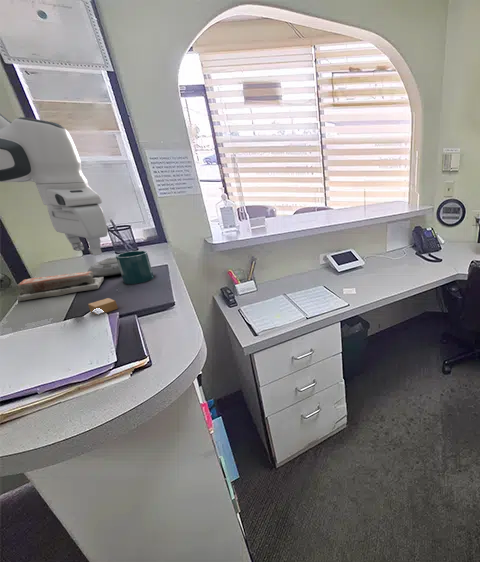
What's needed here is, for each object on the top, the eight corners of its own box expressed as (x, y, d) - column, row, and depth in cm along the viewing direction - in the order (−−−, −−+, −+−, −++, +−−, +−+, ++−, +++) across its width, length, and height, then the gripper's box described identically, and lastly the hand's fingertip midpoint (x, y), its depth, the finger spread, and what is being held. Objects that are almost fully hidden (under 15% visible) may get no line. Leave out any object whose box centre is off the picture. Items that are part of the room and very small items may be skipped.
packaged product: (10, 286, 86) (23, 276, 93) (17, 302, 87) (30, 291, 95) (94, 274, 94) (100, 266, 102) (99, 289, 96) (104, 280, 104)
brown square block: (97, 315, 79) (94, 307, 79) (90, 312, 81) (87, 303, 80) (118, 308, 83) (115, 300, 82) (110, 305, 85) (108, 297, 84)
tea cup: (131, 285, 99) (123, 258, 96) (119, 281, 103) (110, 255, 99) (158, 277, 106) (151, 252, 103) (145, 274, 109) (138, 249, 106)
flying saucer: (119, 279, 104) (114, 264, 102) (76, 279, 105) (70, 264, 103) (150, 265, 118) (146, 252, 116) (112, 265, 119) (107, 252, 117)
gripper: (32, 195, 75) (54, 250, 80) (68, 198, 66) (90, 260, 71) (65, 193, 80) (84, 245, 85) (103, 195, 71) (122, 254, 76)
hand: (87, 252), depth 78 cm, fingers open, 8 cm apart
